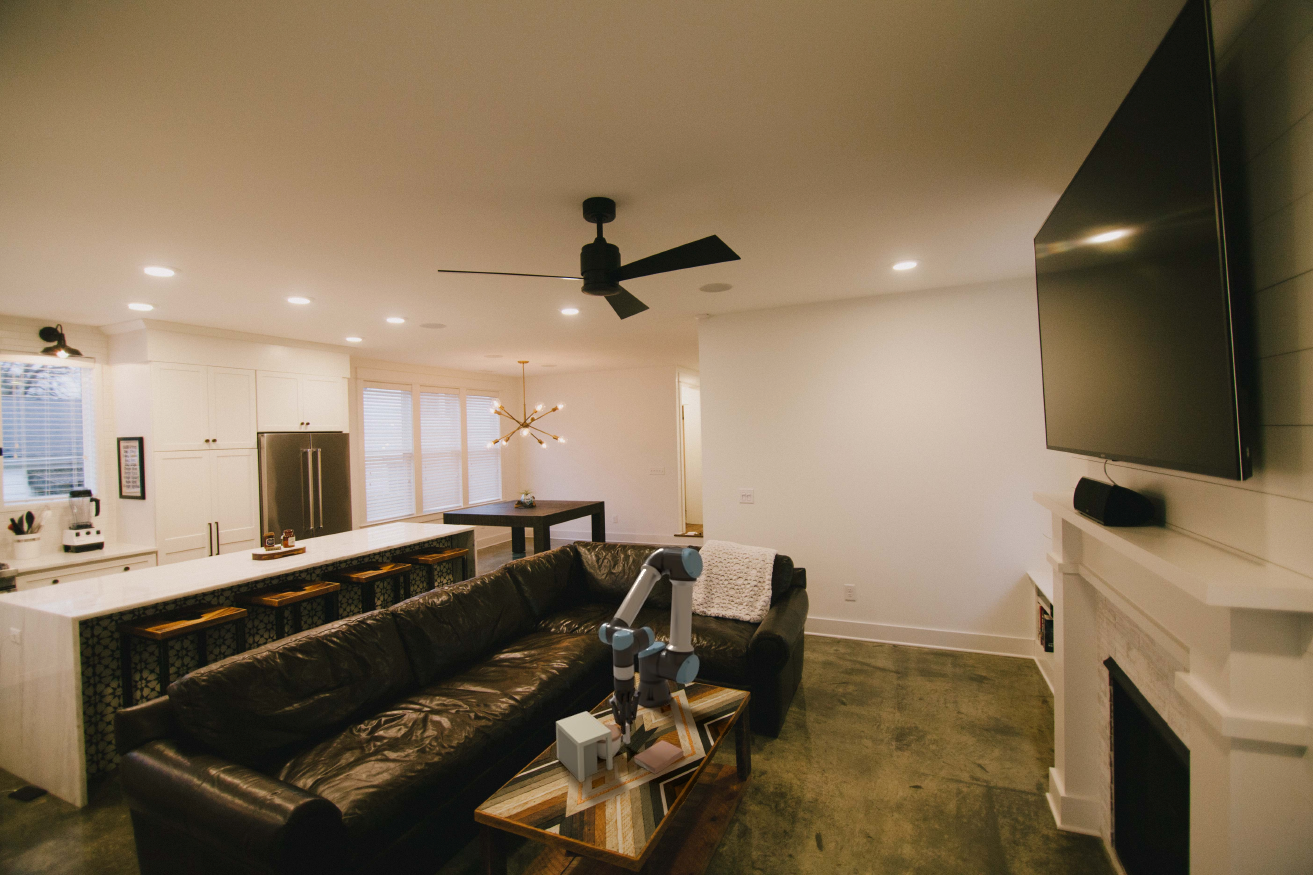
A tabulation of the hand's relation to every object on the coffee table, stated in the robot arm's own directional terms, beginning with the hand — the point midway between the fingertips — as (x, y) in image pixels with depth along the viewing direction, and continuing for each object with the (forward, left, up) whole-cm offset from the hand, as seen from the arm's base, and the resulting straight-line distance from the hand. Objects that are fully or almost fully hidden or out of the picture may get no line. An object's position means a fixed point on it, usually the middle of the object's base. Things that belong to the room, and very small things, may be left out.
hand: (626, 741), depth 194 cm
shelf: (+17, 0, -2) cm, 17 cm away
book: (-5, +14, -2) cm, 15 cm away
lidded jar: (+8, 0, -2) cm, 8 cm away
